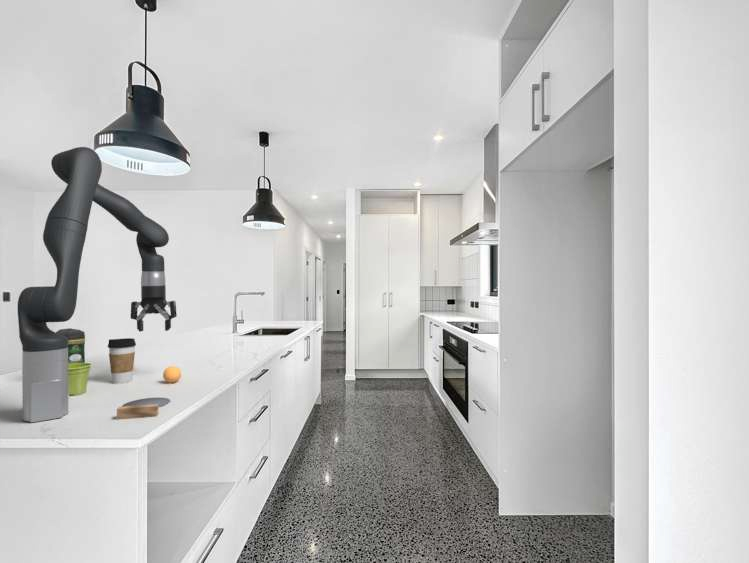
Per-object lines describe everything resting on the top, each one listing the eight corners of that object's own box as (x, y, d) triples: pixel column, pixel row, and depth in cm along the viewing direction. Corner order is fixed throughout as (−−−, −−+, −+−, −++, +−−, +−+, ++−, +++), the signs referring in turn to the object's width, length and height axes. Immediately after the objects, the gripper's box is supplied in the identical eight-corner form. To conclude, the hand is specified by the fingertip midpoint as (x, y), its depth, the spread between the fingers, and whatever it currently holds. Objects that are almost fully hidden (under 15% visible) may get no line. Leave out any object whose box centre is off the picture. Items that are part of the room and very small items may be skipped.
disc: (175, 404, 115) (175, 404, 115) (125, 413, 108) (125, 412, 108) (164, 395, 125) (164, 395, 125) (118, 403, 117) (118, 402, 117)
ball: (183, 382, 141) (183, 366, 141) (165, 385, 138) (165, 368, 138) (178, 379, 145) (178, 363, 146) (161, 382, 142) (161, 366, 142)
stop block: (158, 413, 107) (158, 403, 107) (156, 416, 105) (156, 406, 105) (119, 416, 105) (119, 406, 105) (116, 419, 103) (116, 409, 103)
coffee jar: (51, 382, 143) (50, 328, 144) (77, 378, 150) (77, 326, 150) (61, 386, 138) (61, 330, 138) (88, 381, 144) (88, 328, 144)
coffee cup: (101, 383, 141) (101, 339, 141) (123, 378, 149) (123, 336, 149) (120, 385, 138) (120, 340, 138) (141, 379, 146) (141, 337, 146)
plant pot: (69, 398, 122) (69, 369, 122) (47, 396, 125) (47, 367, 126) (99, 391, 131) (99, 363, 131) (78, 388, 134) (78, 362, 134)
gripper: (178, 284, 149) (179, 329, 150) (136, 284, 147) (136, 330, 147) (171, 284, 142) (172, 331, 142) (126, 285, 140) (127, 332, 140)
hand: (154, 330), depth 145 cm, fingers open, 8 cm apart
